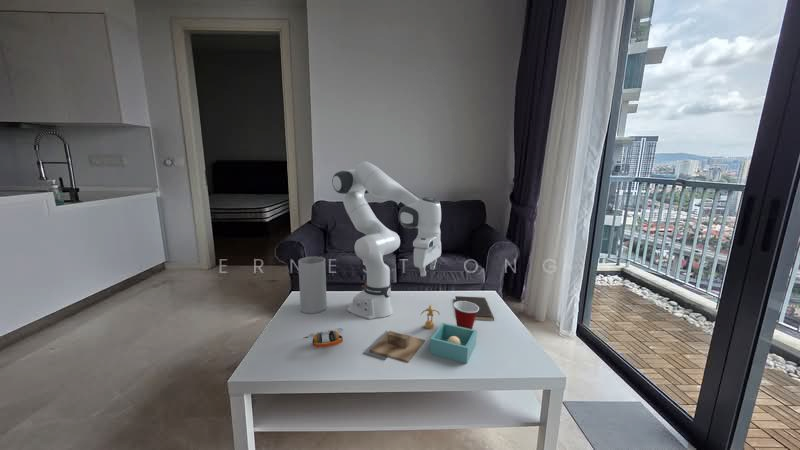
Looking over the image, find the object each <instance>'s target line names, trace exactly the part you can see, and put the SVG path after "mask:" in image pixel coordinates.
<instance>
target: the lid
mask: <svg viewBox="0 0 800 450" xmlns="http://www.w3.org/2000/svg"><path fill="white" fill-rule="evenodd" d="M425 342H426V340H425V339H424V338H419V337H415V336H413V335H412V336H411V335H407V334H403V333H400V332H395V331H393V330H392V331H391V330H389V331H388V333H387V334H386V335H385V336H384V337H383V338H381V339H380V340H379V341H378V342H377V343H376V344H375V345H374V346H373V347H372V348H371V349H370V352H371V353H375V354H378V355H381V356H385V357H387V358H391V359H395V360H398V361H401V362H404V363H405V362H406V363H409V362H410V361H411V360H412V359H413V357H414V356H415V354H416V353H417V352H418V351H419V349H420V348H421V347H423V344H424V343H425Z"/></svg>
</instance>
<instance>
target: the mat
mask: <svg viewBox="0 0 800 450" xmlns="http://www.w3.org/2000/svg"><path fill="white" fill-rule="evenodd" d="M388 332H389V331H387V330H386V331H384V332H383V333H382V334H381V335H380V336H379V337H378V338H377V339H376V340H375V341H374V342H372V344H370V346H367V348H366V349H365V350H364V351H363V355H367V356H370V357H373V358H377V359H380V360H384V361H386V360H387V359H388V357H385V356H381V355H378V354H375V353H371V352H370V349H371V348H372V347H373V346H374V345H375V344H376V343H377V342H378V341H379V340H380V339H381V338H383V337H384V336H385V335H386V334H387V333H388Z"/></svg>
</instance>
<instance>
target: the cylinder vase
mask: <svg viewBox="0 0 800 450" xmlns="http://www.w3.org/2000/svg"><path fill="white" fill-rule="evenodd" d="M297 263H298V278H299V279H298V280H299V281H298V282H299V283H298V284H299V285H298V286H299V298H300V299H299V303H300V304H299V305H300V311H301V312H303V313H304V314H309V315H311V314H318V313H322V312H324V311H326V309H327V307H328V303H327V276H326V275H327V274H326V271H327V270H326V269H327V268H326V258H325V257H323V256H307V257H303V258H300V259H298V262H297Z"/></svg>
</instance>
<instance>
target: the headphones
mask: <svg viewBox="0 0 800 450" xmlns="http://www.w3.org/2000/svg"><path fill="white" fill-rule="evenodd" d="M337 330H338V328H336V329H334V330H333V329H332V330H330V329H329V330H328V332H327V333H326V331H324V332H323V331H320V332H317V333H311V334H309V335H308V336H304V337H303V339H307V338H309V337H310V336H311V335H313V338H312V346H313V348H316V349H317V348H318V349H319V348H320V349H321V348H322V349H324V348H330V347H334V346H337V345H340V344H342V343H343V341H344V337H343V335H341V334H339V332H342V331H344V329H343V328H341V329H340V330H338V331H337ZM327 335H328V338H329V339H328V340H329V342H323V336H327Z"/></svg>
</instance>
